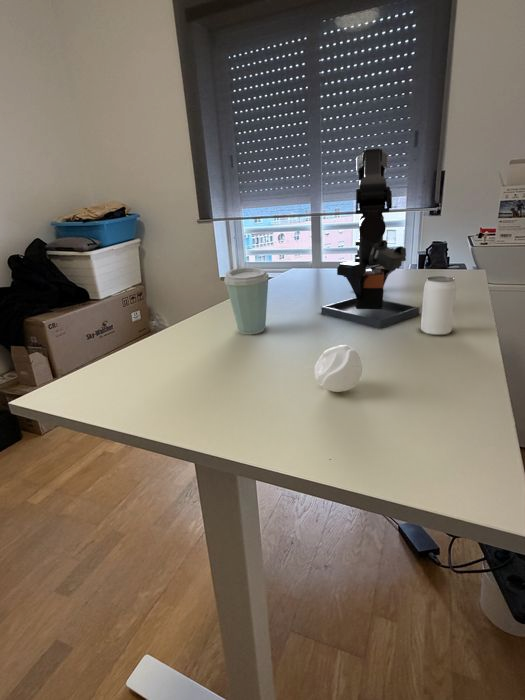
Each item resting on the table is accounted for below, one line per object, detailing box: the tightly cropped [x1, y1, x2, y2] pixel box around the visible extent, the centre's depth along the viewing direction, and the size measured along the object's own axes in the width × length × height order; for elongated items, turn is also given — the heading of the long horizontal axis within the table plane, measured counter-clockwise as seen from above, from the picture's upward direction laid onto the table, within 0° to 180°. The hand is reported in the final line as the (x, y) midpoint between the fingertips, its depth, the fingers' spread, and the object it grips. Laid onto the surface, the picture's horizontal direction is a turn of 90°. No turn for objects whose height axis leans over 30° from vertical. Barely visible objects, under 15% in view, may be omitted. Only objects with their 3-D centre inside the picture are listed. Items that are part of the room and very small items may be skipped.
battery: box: [355, 269, 385, 309], centre depth 106 cm, size 4×7×10 cm, turn 74°
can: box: [420, 275, 457, 336], centre depth 90 cm, size 6×6×12 cm
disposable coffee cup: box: [223, 266, 270, 335], centre depth 98 cm, size 11×11×15 cm
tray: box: [320, 296, 420, 330], centre depth 108 cm, size 20×16×2 cm
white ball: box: [313, 344, 363, 393], centre depth 67 cm, size 8×8×8 cm
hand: (369, 298), depth 106 cm, fingers closed on battery, 7 cm apart
